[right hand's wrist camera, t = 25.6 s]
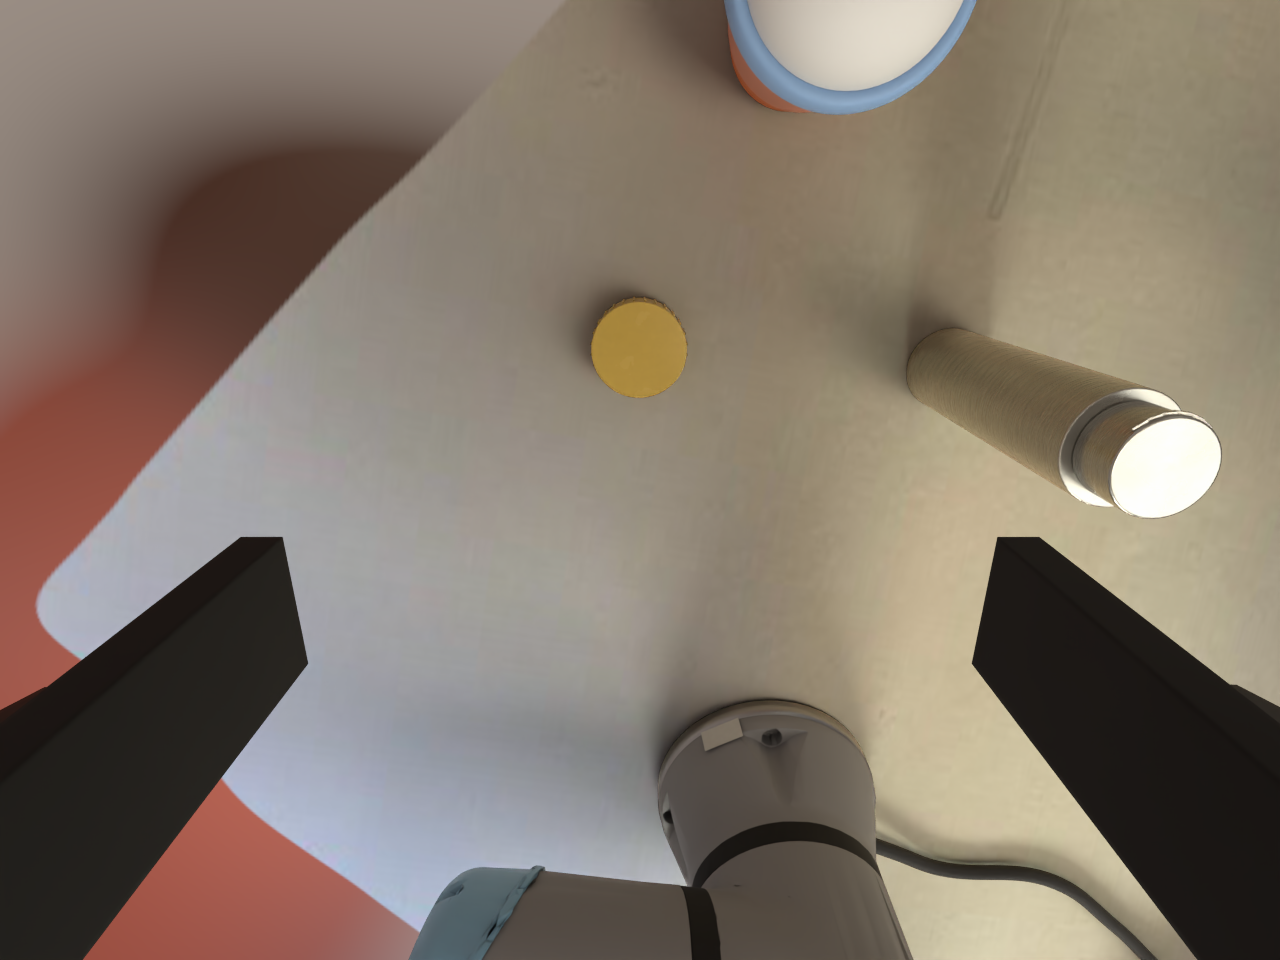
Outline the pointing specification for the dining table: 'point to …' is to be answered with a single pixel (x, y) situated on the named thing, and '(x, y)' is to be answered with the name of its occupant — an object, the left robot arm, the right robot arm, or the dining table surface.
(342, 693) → the dining table surface
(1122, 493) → the metal bottle
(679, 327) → the lid
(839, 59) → the cup with straw
